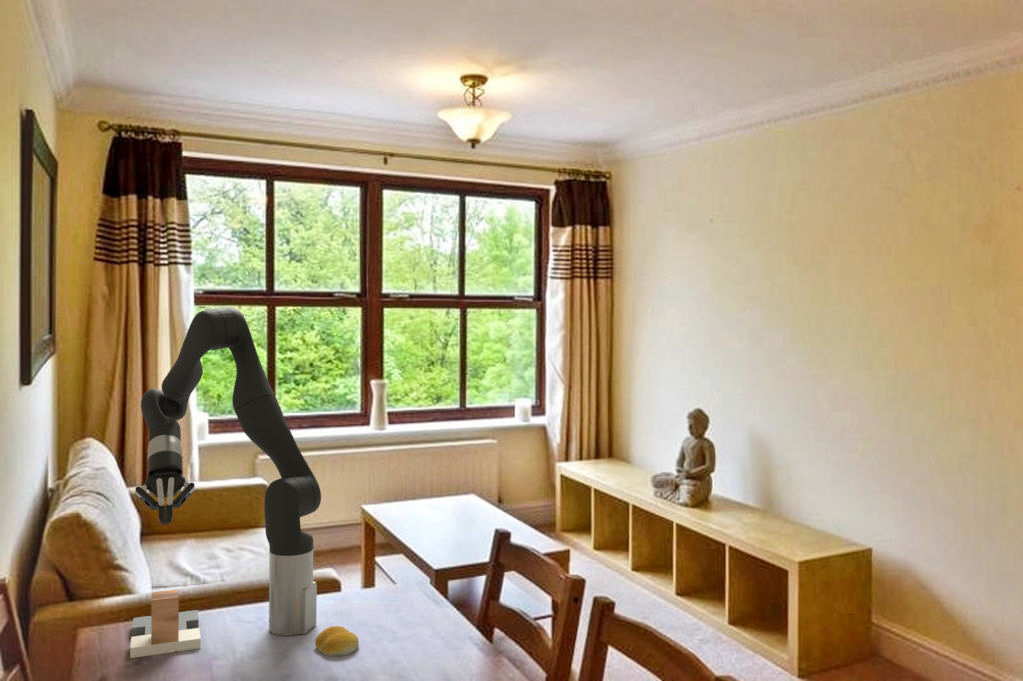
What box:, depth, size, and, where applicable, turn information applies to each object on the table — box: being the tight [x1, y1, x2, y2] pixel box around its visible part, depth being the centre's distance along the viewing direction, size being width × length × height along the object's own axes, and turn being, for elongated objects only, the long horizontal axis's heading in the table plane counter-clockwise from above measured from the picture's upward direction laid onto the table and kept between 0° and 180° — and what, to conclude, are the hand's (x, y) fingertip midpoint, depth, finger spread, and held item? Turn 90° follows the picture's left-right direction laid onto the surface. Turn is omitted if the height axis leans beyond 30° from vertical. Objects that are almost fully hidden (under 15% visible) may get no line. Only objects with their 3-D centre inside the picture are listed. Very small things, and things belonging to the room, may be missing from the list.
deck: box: [131, 609, 200, 637], centre depth 171 cm, size 11×13×2 cm
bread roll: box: [314, 625, 360, 657], centre depth 164 cm, size 8×9×4 cm
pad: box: [129, 627, 202, 659], centre depth 163 cm, size 6×13×2 cm, turn 113°
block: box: [150, 589, 180, 645], centre depth 163 cm, size 5×5×9 cm
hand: (165, 523), depth 176 cm, fingers closed
